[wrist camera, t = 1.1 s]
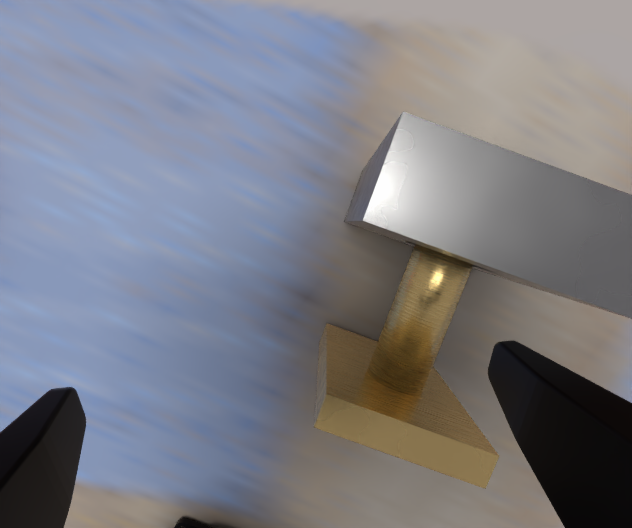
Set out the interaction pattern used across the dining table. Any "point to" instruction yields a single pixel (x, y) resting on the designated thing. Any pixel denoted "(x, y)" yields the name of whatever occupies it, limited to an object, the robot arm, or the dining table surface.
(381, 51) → the dining table surface
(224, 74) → the dining table surface
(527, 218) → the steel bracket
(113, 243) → the dining table surface
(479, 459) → the brass pin
